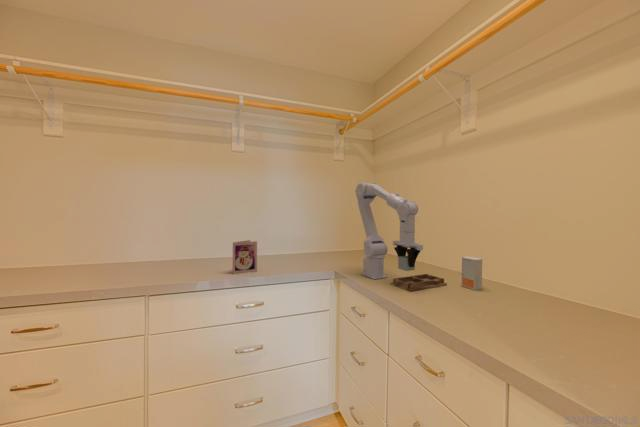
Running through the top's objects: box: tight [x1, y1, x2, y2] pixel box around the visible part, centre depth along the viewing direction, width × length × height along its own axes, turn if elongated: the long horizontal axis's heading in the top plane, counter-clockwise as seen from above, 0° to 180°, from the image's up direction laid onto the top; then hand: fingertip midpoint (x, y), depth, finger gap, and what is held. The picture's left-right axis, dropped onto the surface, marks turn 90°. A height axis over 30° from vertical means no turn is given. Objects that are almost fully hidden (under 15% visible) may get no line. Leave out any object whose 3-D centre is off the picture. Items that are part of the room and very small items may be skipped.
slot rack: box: [390, 273, 448, 293], centre depth 107 cm, size 11×20×3 cm, turn 116°
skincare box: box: [460, 255, 483, 291], centre depth 104 cm, size 6×4×12 cm
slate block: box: [397, 255, 416, 272], centre depth 105 cm, size 4×4×5 cm
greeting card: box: [232, 239, 258, 275], centre depth 128 cm, size 11×7×15 cm, turn 116°
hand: (406, 265), depth 105 cm, fingers closed on slate block, 4 cm apart
